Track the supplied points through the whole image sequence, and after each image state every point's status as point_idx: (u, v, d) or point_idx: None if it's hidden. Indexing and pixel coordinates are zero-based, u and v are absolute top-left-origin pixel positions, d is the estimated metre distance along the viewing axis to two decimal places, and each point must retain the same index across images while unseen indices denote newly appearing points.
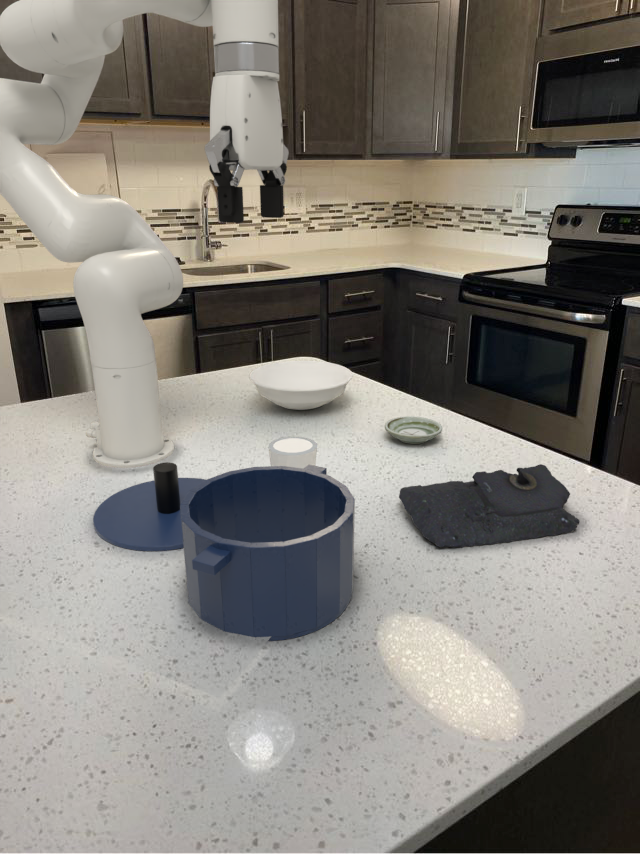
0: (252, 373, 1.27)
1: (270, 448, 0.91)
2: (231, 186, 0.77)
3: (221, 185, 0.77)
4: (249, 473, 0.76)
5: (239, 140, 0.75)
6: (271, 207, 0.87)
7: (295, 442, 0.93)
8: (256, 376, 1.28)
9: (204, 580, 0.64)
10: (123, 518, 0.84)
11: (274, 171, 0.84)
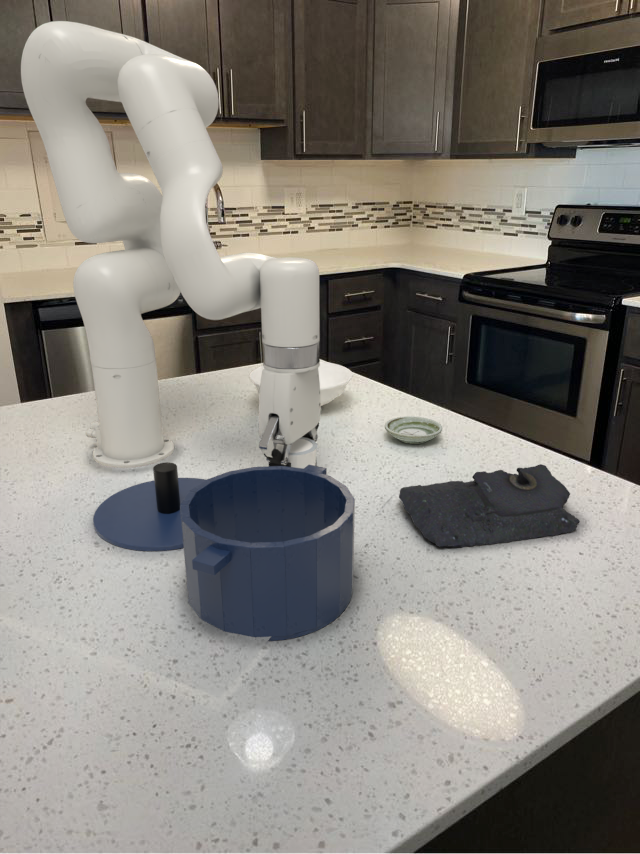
0: (252, 373, 1.27)
1: None
2: (282, 464, 0.88)
3: (273, 462, 0.88)
4: (249, 473, 0.76)
5: (285, 426, 0.86)
6: None
7: (295, 442, 0.93)
8: (256, 376, 1.28)
9: (204, 580, 0.64)
10: (123, 518, 0.84)
11: (310, 431, 0.94)
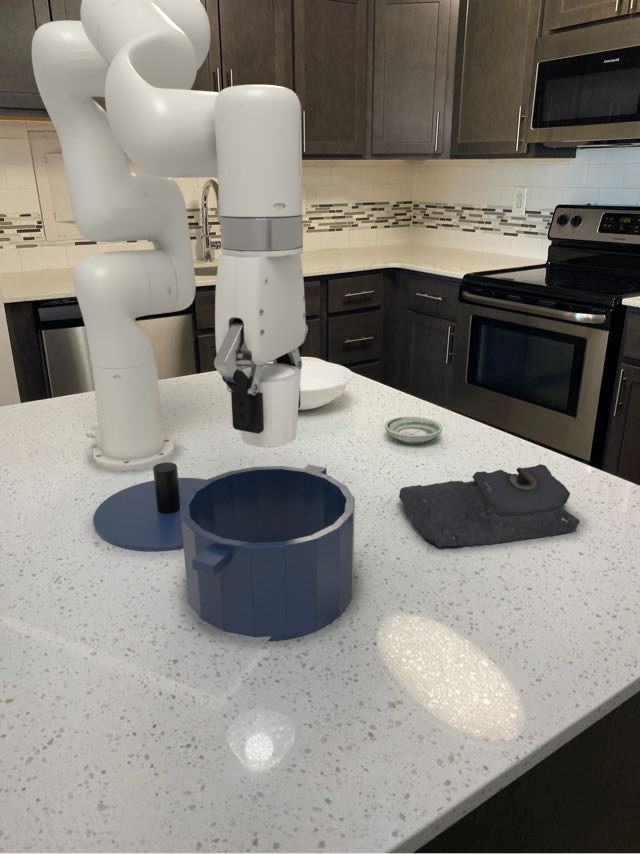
0: None
1: None
2: (249, 394, 0.62)
3: (236, 392, 0.62)
4: (249, 473, 0.76)
5: (253, 336, 0.59)
6: None
7: (271, 369, 0.67)
8: None
9: (204, 580, 0.64)
10: (123, 518, 0.84)
11: (290, 354, 0.67)
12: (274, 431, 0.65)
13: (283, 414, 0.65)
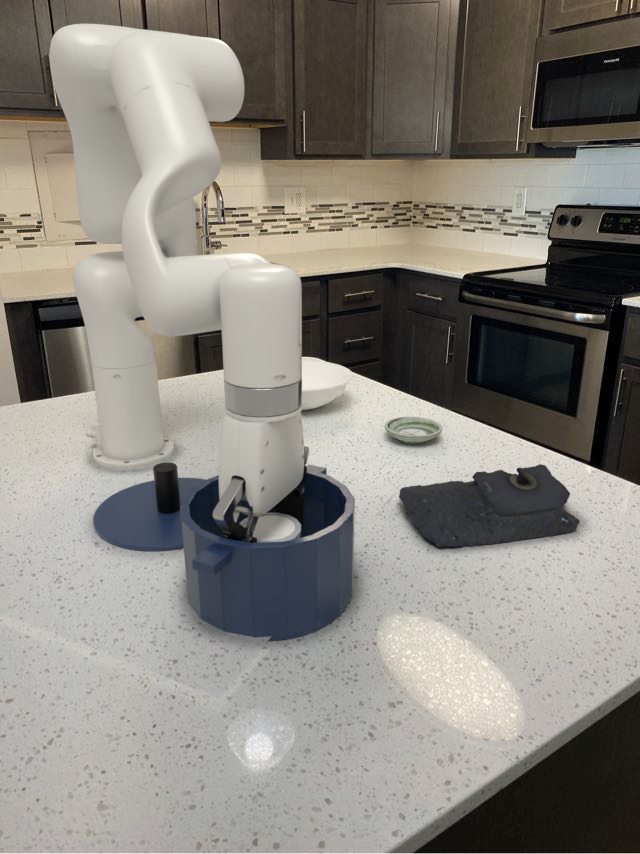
0: None
1: None
2: (244, 541, 0.64)
3: (232, 538, 0.65)
4: None
5: (254, 493, 0.63)
6: None
7: (272, 522, 0.71)
8: None
9: (204, 580, 0.64)
10: (123, 518, 0.84)
11: None
12: None
13: None
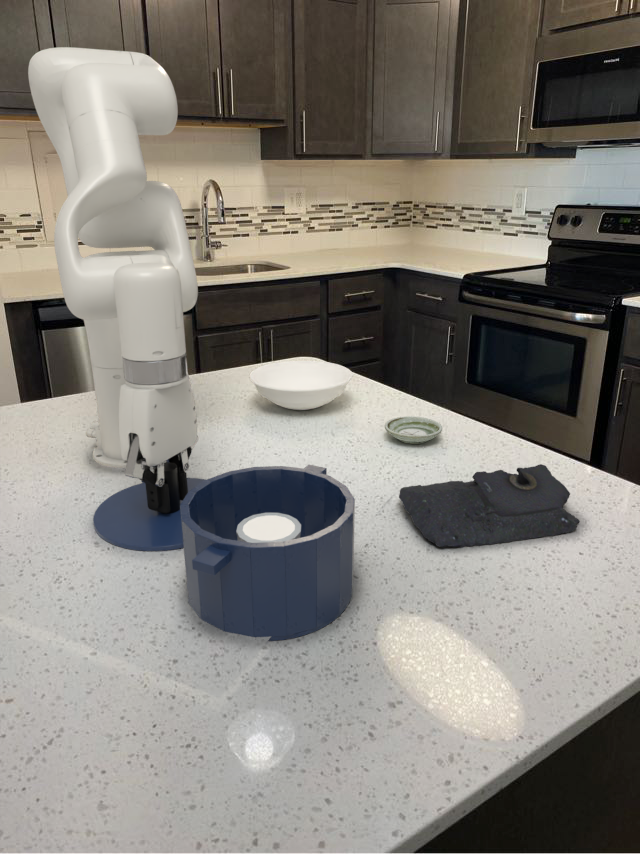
0: (252, 373, 1.27)
1: (239, 533, 0.69)
2: (157, 486, 0.82)
3: (148, 484, 0.83)
4: (249, 473, 0.76)
5: (146, 447, 0.78)
6: None
7: (272, 522, 0.71)
8: (256, 376, 1.28)
9: (204, 580, 0.64)
10: (123, 518, 0.84)
11: (179, 455, 0.85)
12: None
13: None
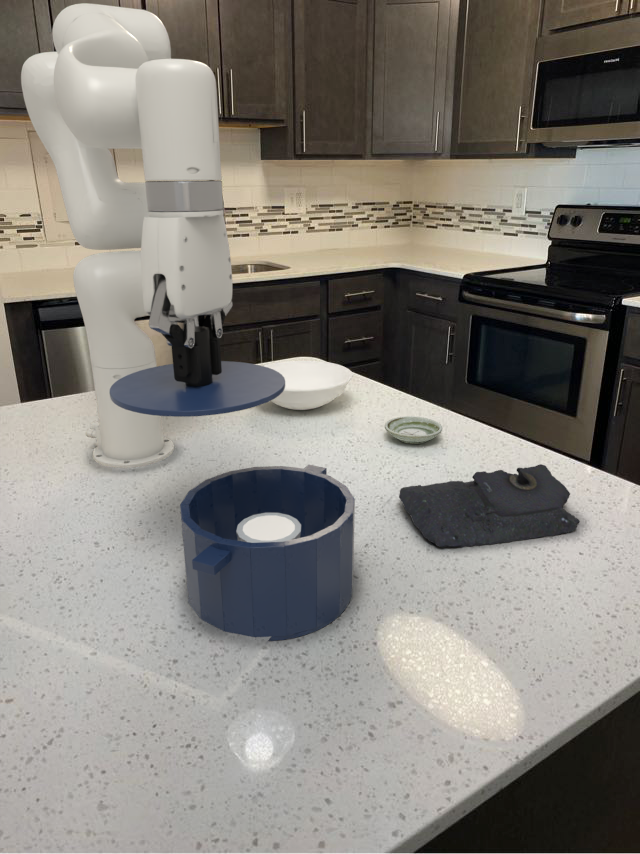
0: None
1: (239, 533, 0.69)
2: (186, 347, 0.69)
3: (175, 345, 0.69)
4: (249, 473, 0.76)
5: (174, 290, 0.65)
6: None
7: (272, 522, 0.71)
8: None
9: (204, 580, 0.64)
10: (145, 390, 0.71)
11: (212, 317, 0.72)
12: None
13: None
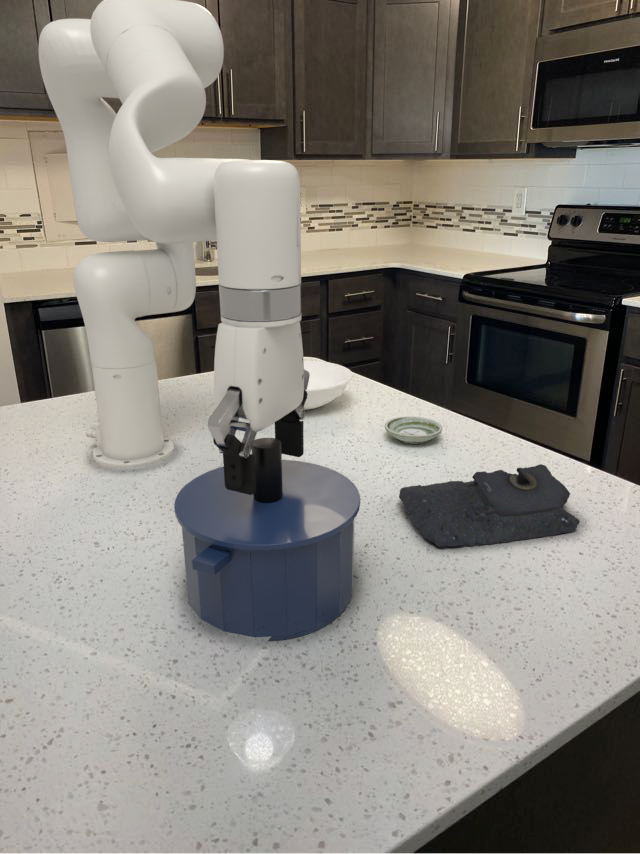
0: None
1: None
2: (241, 457, 0.61)
3: (228, 454, 0.61)
4: None
5: (251, 405, 0.60)
6: (288, 445, 0.71)
7: None
8: None
9: (204, 580, 0.64)
10: (213, 508, 0.66)
11: None
12: None
13: None
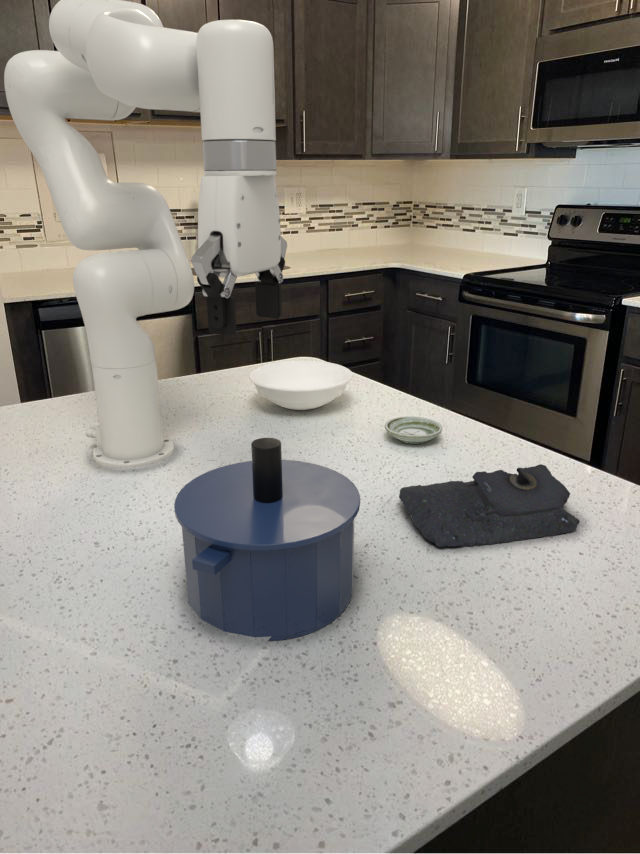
0: (252, 373, 1.27)
1: None
2: (222, 297, 0.68)
3: (211, 296, 0.68)
4: None
5: (231, 247, 0.67)
6: (268, 307, 0.78)
7: None
8: (256, 376, 1.28)
9: (204, 580, 0.64)
10: (213, 508, 0.66)
11: (271, 270, 0.75)
12: None
13: None
